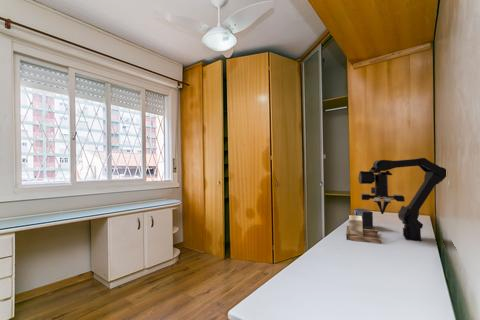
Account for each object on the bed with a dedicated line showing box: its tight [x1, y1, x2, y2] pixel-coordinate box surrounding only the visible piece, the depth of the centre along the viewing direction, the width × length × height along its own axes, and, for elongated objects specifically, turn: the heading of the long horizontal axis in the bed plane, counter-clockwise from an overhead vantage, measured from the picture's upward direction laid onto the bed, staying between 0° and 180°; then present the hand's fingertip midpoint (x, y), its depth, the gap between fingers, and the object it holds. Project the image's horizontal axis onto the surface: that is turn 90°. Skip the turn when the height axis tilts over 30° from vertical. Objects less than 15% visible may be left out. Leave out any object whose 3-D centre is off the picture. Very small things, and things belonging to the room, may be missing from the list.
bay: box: [345, 225, 382, 244], centre depth 120 cm, size 15×16×3 cm
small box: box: [353, 208, 374, 230], centre depth 137 cm, size 11×6×10 cm, turn 1°
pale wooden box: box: [348, 214, 363, 237], centre depth 121 cm, size 6×11×9 cm, turn 154°
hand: (382, 213), depth 118 cm, fingers closed
